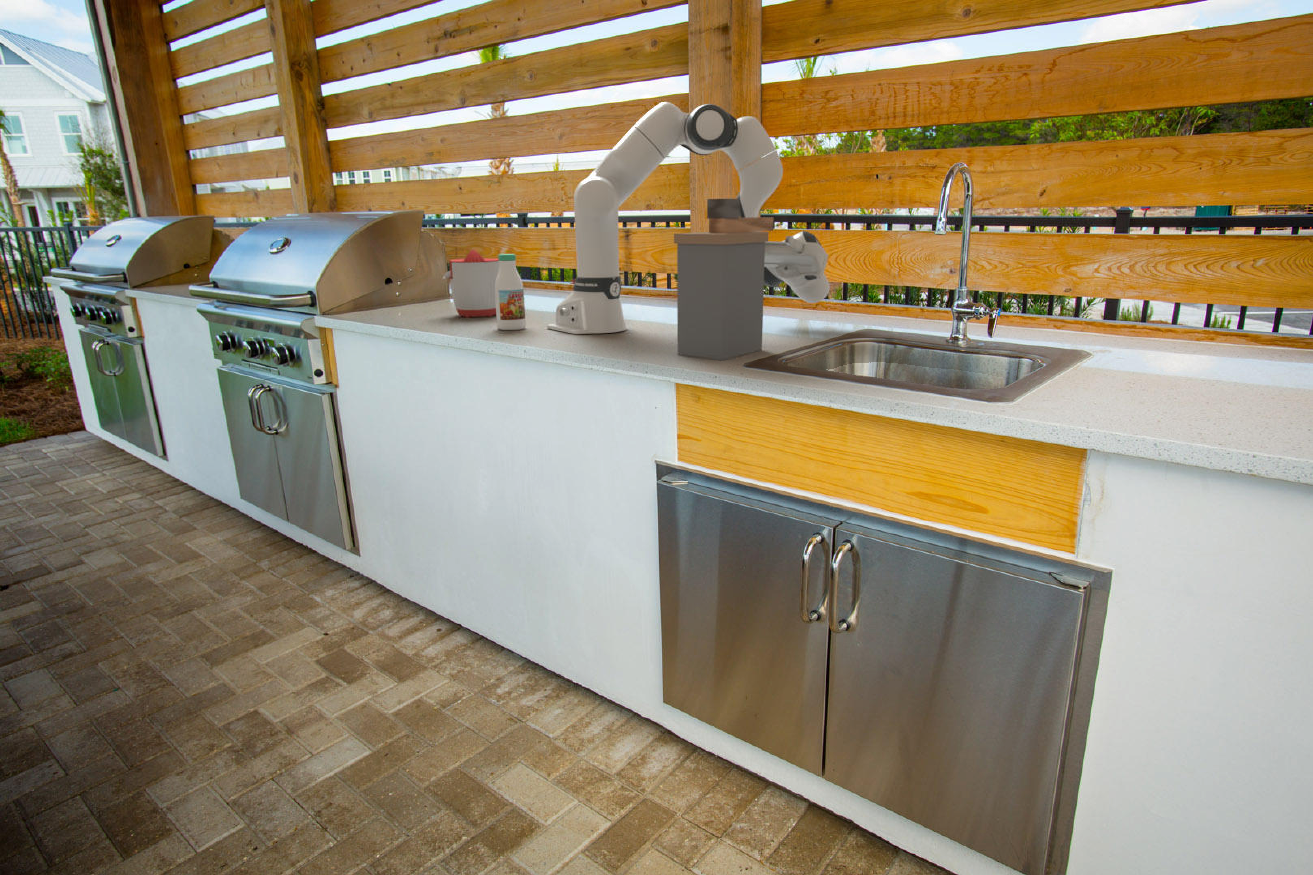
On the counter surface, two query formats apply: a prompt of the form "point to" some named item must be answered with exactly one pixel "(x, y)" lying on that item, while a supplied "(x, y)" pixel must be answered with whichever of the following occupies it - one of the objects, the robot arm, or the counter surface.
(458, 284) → the citrus juicer
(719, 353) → the cabinet
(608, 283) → the robot arm
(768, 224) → the brown grey stepped block
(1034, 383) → the counter surface
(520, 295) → the milk bottle
